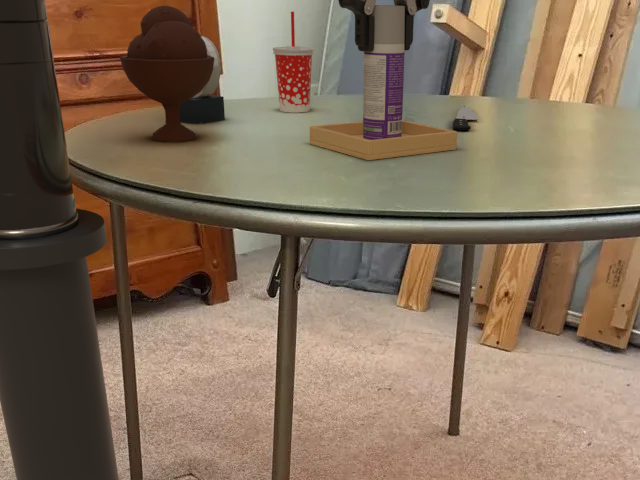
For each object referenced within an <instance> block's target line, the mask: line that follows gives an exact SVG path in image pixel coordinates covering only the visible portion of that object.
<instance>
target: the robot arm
mask: <svg viewBox="0 0 640 480" xmlns="http://www.w3.org/2000/svg"><path fill="white" fill-rule="evenodd" d="M337 1H338V4H339V7H340V8H342V9H346V10H348V11H351V12H352V14H353V15H354V43H355V45H356V46H357V49H358V51H359V52H363V53H364V52H372V51H373V50H374V17H375V16H371V14H372V13H373V10H374V6H375V5H376V2H377V0H337ZM430 1H431V0H393V3H394V6H405V42H404V51H409V50H410V49H411V46H412V45H413V42H414V26H415V25H414V23H415V22H414V21H415V20H414V19H415V15H416V13H418V12H419V11H422V10H427V9H428V8H429V5H430ZM47 11H48V10H47V5H46V0H0V240H21V239H32V238H39V237H45V236H50V235H55V234H58V233H62V232H65V231H67V230H70V229H72V228H74V227H75V226H76V225H77V224H78V223H79V220H78V213H77V211H76V209H77V208H76V206H77V205H76V204H77V203H76V198H75V195H74V187H73V183H72V181H73V180H72V176H71V168H70V161H69V154H68V147H67V140H66V133H65V126H64V121H63V120H64V119H63V114H62V113H63V112H62V107H61V100H60V94H59V86H58V79H57V72H56V67H55V60H54V52H53V46H52V38H51V32H50V25H49V21H48V18H49V17H48V12H47Z"/></svg>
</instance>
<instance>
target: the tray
mask: <svg viewBox="0 0 640 480" xmlns="http://www.w3.org/2000/svg"><path fill="white" fill-rule="evenodd" d="M309 144H310V145H313V146H316V147H320V148H323V149H327V150H331V151H334V152H338V153H340V154H345V155H348V156H352V157H354V158H359V159H362V160H366V161H374V160H383V159H391V158H399V157H406V156H415V155H423V154H431V153H438V152H446V151H448V152H449V151H456V150H457V145H458V131H457V130H452V129H447V128H446V129H445V128H442V127H437V126H433V125H427V124H422V123H419V122H414V121H409V120H404V119H402V137H394V138H385V139H376V140H367V139H363V120H362V121H351V122H343V123H341V122H340V123H329V124H320V125H319V124H318V125H310V126H309Z"/></svg>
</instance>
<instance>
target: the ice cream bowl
mask: <svg viewBox="0 0 640 480" xmlns="http://www.w3.org/2000/svg"><path fill="white" fill-rule="evenodd" d="M140 30H141V31H140V32H141V33H140V34H137V35H136V36H135V37H134V38H133V39H132V40H131V41H130V42H129V44H128V48H127V50H126V51H127V53H126V54H124V55H119V61H120V64H121V66H122V71H123V72H124V74H125V75H126V77H127V79H128V81H129V83H131V84H132V85H133V86H134V87H135V88H136V89H137V90H138V91H139V92H141V93H142V94H144V95H145V96H146V97H148V98H149V99H151V100H153V101H155V102H158V103H160V104H161V105H162V108H163V109H164V113H165V114H164V115H165V124H164V125H162V126H160V127H159V128H158V129H156V130H155V131H154V132H152V135H151V139H152V140H153V141H155V142H157V141H158V142H163V143H165V142H166V143H172V142H173V143H176V142H177V143H179V142H188V141H193V140H196V139H198V137H197V134H196V133H195V131H193V130H191V129H190V128H189V127H187V126H185V125H183V124H181V123H182V122H180V115H179V109H180V106H181V103H183V102H185V101H187V100H189V99H191V98H193V97H194V96H195V95H196V94H198V93H200V92H201V90H202V89H203V88H204V87H205V85H206V84H207V83H208V82H209V80H210V77H211V75H212V72H213V66H214V57H212V56H208V55H207V48H206V44H205V42H204V40H203V39H202V37H201V36H202V35H201V34H200V32H199V31H198V30H196V29H195V28H194V27H193V24H192V21H191V19H190V18H189V17H188V16H187V14H186V13H185V12H183V11H182V10H180V9H178V8H176V7H173V6H170V5H159V6H156V7H153V8H150V10H148V11H147V13H146V14H144V15H143V17H142V18H141V20H140Z"/></svg>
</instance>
